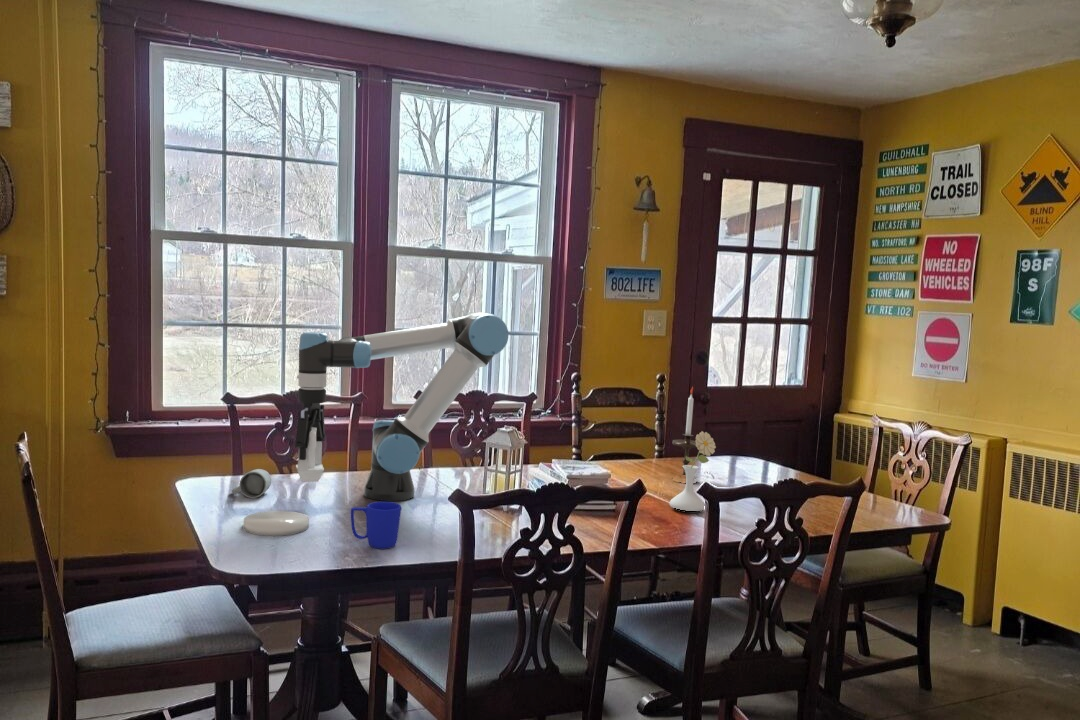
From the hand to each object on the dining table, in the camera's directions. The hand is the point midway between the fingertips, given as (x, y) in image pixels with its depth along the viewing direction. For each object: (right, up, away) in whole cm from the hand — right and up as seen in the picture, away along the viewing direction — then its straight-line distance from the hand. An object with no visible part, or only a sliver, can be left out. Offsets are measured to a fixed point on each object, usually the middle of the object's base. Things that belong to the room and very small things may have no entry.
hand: (309, 467), depth 233 cm
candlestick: (+117, -14, +70) cm, 137 cm away
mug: (+24, -15, -30) cm, 42 cm away
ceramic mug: (-20, -10, +10) cm, 24 cm away
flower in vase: (+111, -17, +26) cm, 116 cm away
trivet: (-3, -13, -20) cm, 24 cm away
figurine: (0, -4, 0) cm, 4 cm away
